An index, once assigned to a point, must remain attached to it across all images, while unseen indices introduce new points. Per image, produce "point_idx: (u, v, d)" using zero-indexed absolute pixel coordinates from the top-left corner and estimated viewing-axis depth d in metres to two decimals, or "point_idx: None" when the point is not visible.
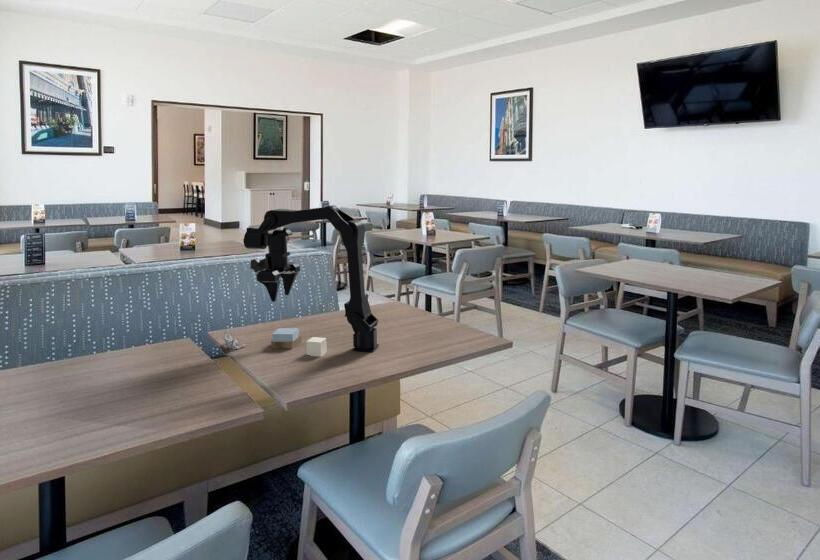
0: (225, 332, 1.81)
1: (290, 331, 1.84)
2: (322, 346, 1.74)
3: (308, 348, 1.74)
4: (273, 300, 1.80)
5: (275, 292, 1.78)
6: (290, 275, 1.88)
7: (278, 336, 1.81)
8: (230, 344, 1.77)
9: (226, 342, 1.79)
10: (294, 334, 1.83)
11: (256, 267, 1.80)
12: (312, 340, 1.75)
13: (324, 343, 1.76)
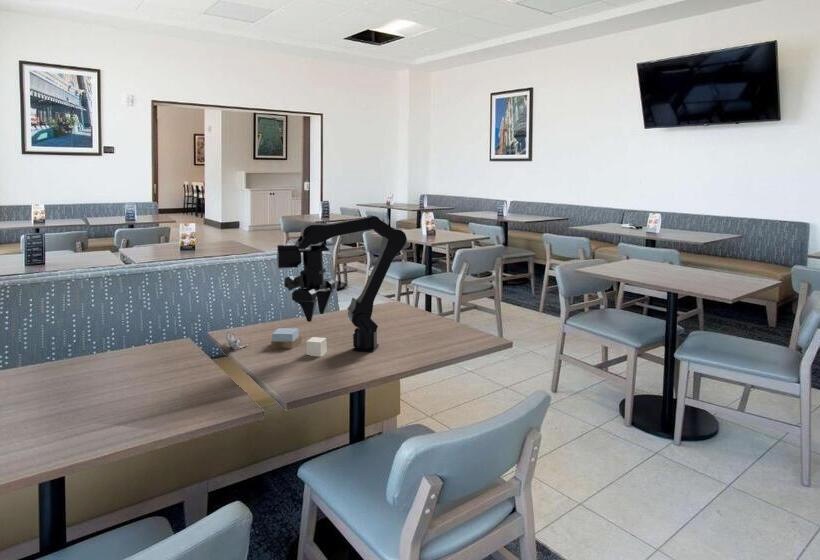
0: (227, 332, 1.81)
1: (290, 331, 1.84)
2: (322, 346, 1.74)
3: (308, 348, 1.74)
4: (309, 320, 1.69)
5: (311, 312, 1.68)
6: (325, 293, 1.77)
7: (278, 336, 1.82)
8: (233, 344, 1.77)
9: (229, 342, 1.79)
10: (294, 334, 1.83)
11: (291, 285, 1.69)
12: (312, 340, 1.75)
13: (324, 343, 1.76)
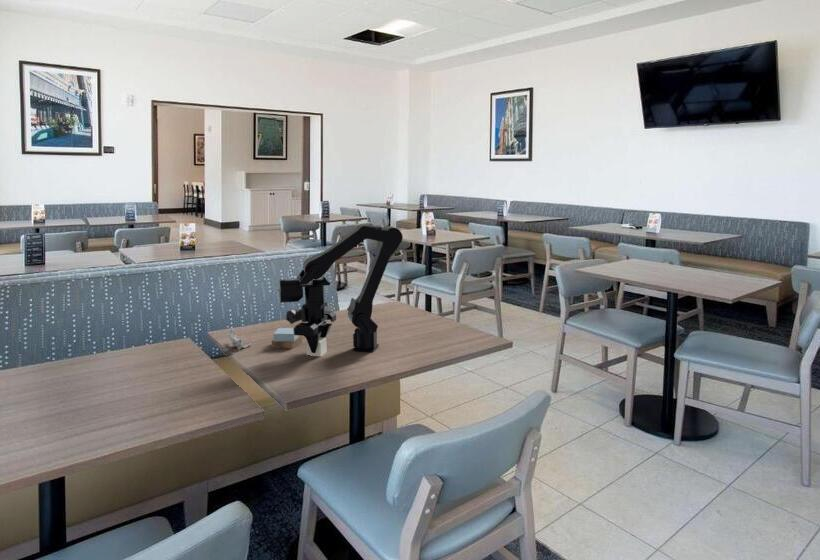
0: (231, 332, 1.82)
1: (291, 331, 1.84)
2: (322, 346, 1.74)
3: (308, 348, 1.74)
4: (313, 351, 1.73)
5: (316, 344, 1.72)
6: (324, 327, 1.77)
7: (279, 336, 1.82)
8: (238, 343, 1.78)
9: (233, 341, 1.79)
10: None
11: (292, 319, 1.71)
12: None
13: (324, 343, 1.76)
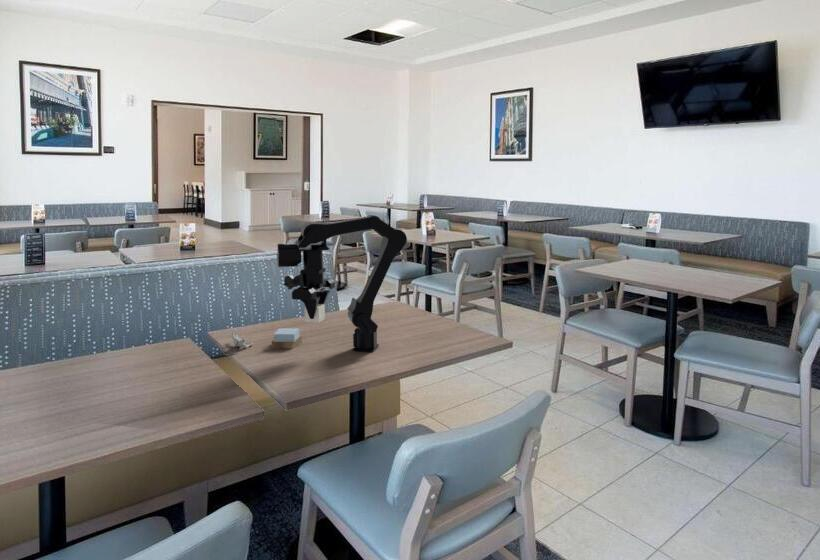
0: (233, 331, 1.82)
1: (292, 331, 1.84)
2: (320, 312, 1.72)
3: (306, 314, 1.72)
4: (311, 317, 1.71)
5: (314, 309, 1.70)
6: (322, 293, 1.75)
7: (280, 337, 1.82)
8: (241, 343, 1.78)
9: (236, 341, 1.80)
10: (295, 334, 1.83)
11: (290, 284, 1.69)
12: None
13: (322, 309, 1.74)
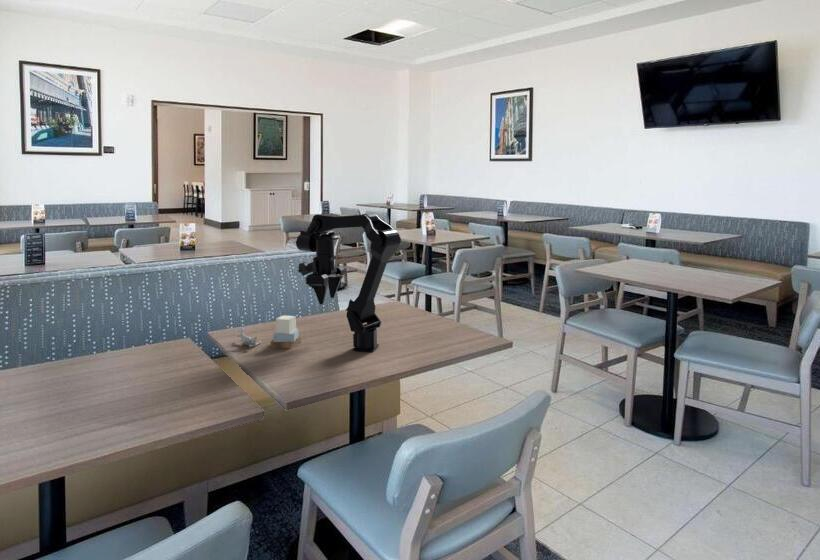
0: (242, 330, 1.83)
1: None
2: (291, 324, 1.83)
3: (277, 325, 1.82)
4: (321, 303, 1.83)
5: (323, 295, 1.81)
6: (336, 278, 1.91)
7: (279, 337, 1.82)
8: (254, 341, 1.80)
9: (247, 339, 1.81)
10: (295, 334, 1.83)
11: (304, 270, 1.83)
12: (281, 318, 1.83)
13: (293, 321, 1.84)
